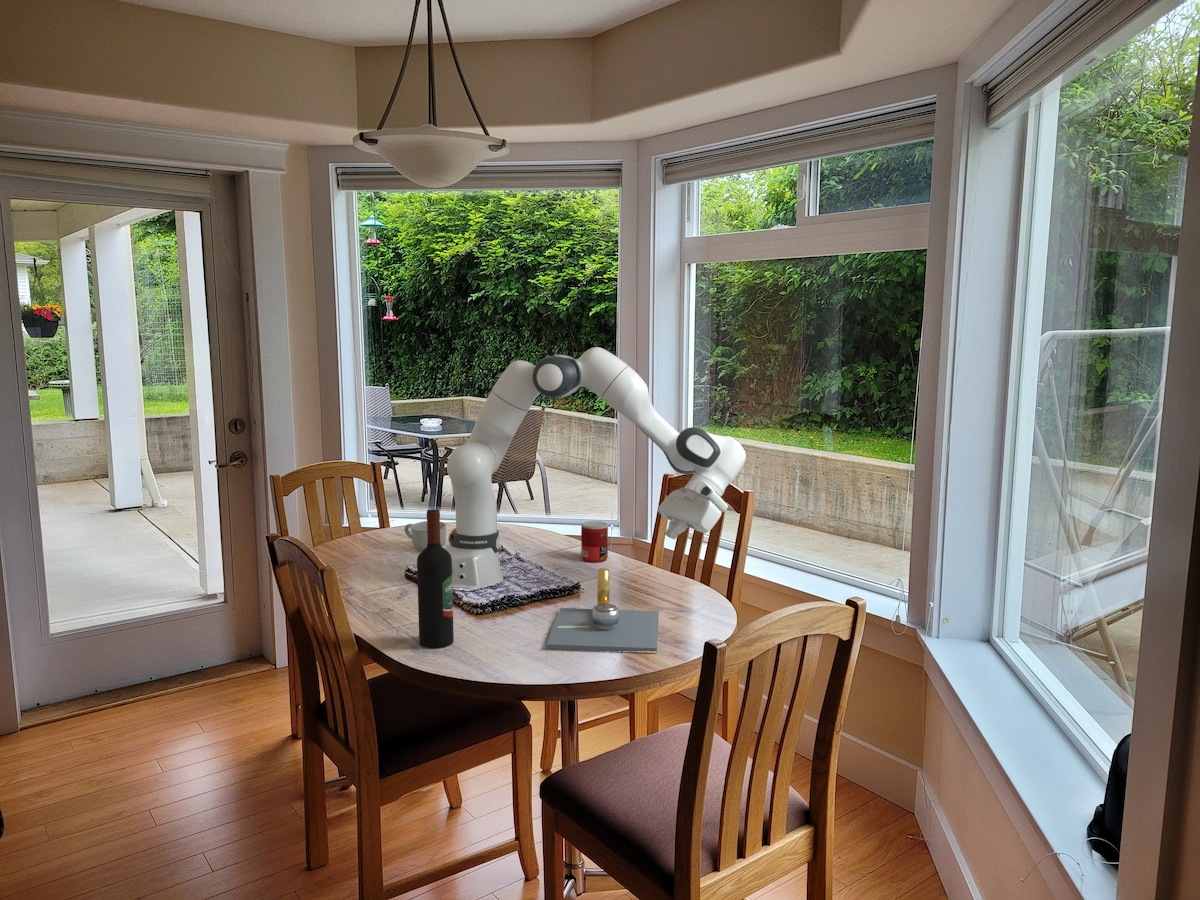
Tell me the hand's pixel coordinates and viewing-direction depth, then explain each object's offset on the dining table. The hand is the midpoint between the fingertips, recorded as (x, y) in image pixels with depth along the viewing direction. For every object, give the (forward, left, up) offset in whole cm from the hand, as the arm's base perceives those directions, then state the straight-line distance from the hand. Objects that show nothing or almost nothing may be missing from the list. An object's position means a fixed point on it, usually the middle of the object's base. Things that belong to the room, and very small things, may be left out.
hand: (669, 536), depth 213 cm
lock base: (-14, -20, -18) cm, 30 cm away
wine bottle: (-51, -30, -18) cm, 62 cm away
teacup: (-76, +47, -18) cm, 91 cm away
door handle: (-15, -16, -15) cm, 26 cm away
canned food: (-22, +40, -18) cm, 49 cm away
